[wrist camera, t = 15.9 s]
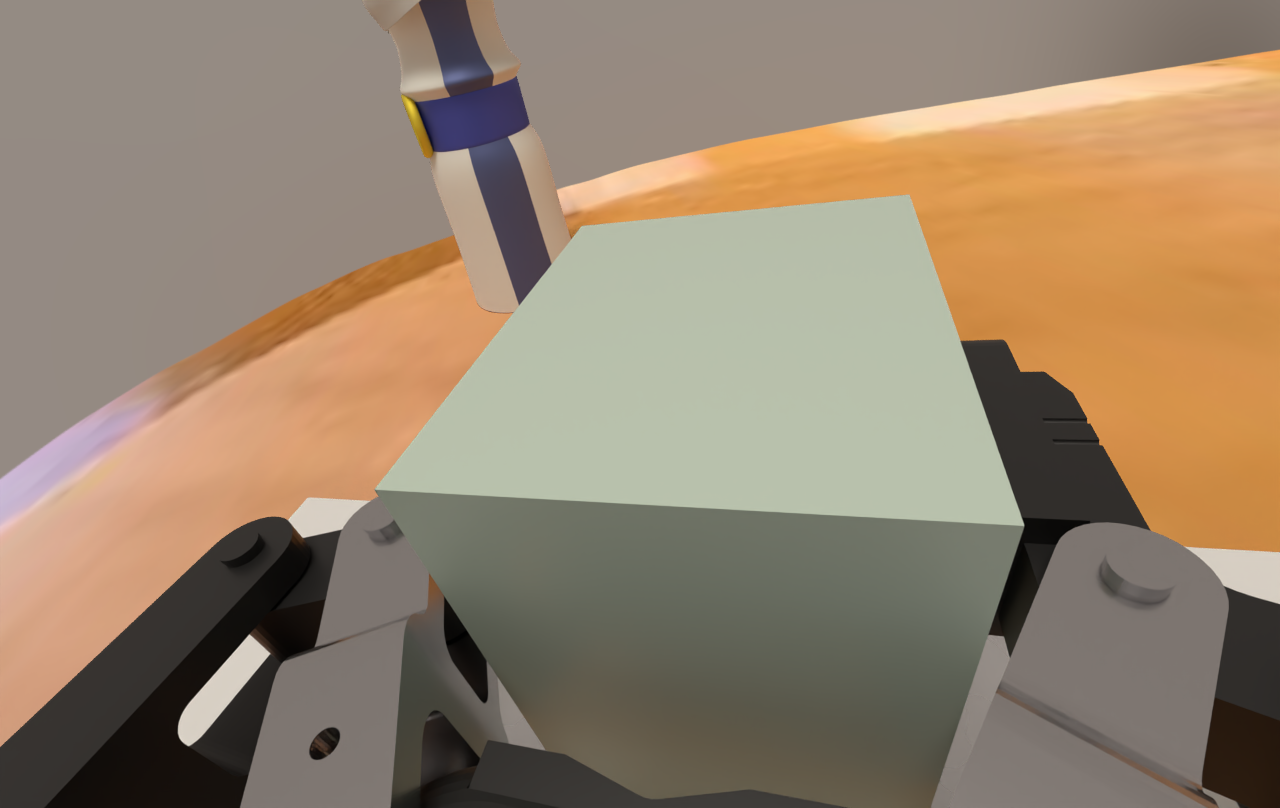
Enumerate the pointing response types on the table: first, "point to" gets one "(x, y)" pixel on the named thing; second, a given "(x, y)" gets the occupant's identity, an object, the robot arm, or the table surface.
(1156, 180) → the table surface
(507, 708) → the mounting plate
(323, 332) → the table surface
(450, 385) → the table surface
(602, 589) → the tall block
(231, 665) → the rectangular blocks
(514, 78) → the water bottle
